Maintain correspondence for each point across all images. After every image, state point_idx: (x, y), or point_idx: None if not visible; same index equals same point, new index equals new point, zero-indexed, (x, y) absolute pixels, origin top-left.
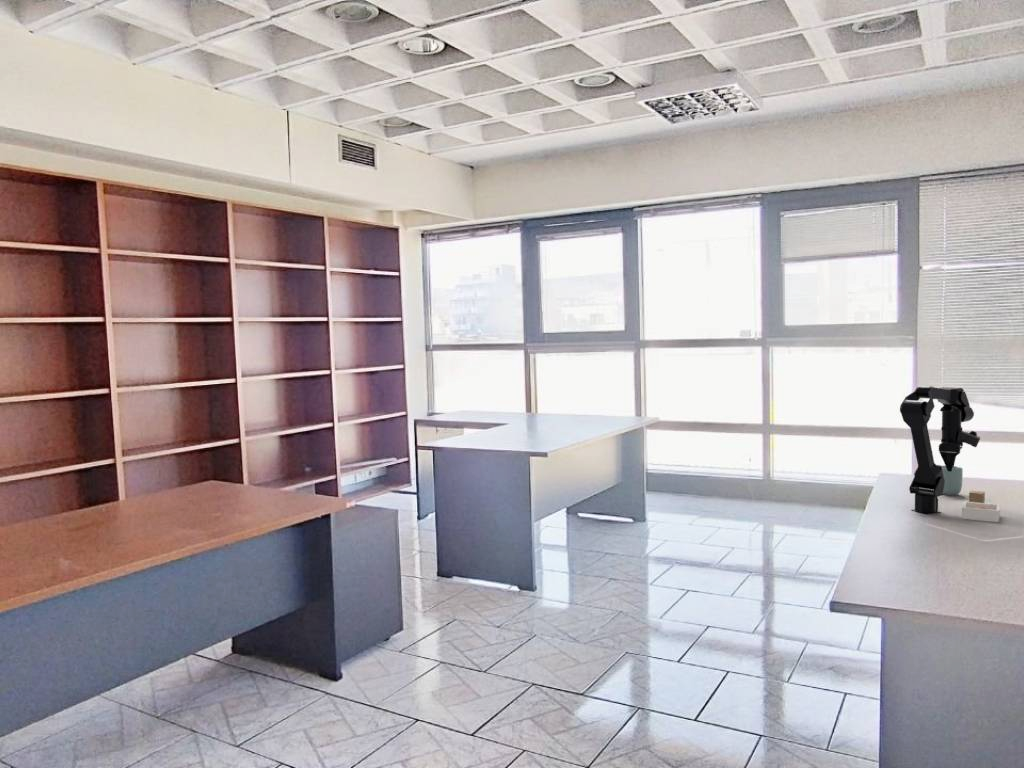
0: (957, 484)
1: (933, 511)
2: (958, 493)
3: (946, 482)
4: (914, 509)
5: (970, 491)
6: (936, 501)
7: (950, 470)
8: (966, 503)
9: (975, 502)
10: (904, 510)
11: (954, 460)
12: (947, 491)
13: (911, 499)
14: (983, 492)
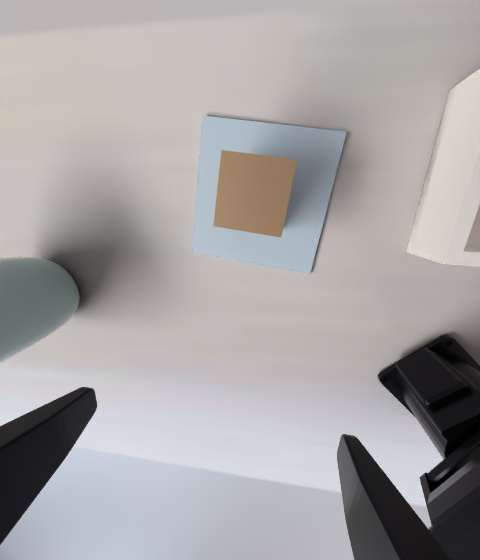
0: (33, 278)
1: (473, 367)
2: (56, 263)
3: (45, 322)
4: (414, 415)
5: (242, 230)
6: (470, 382)
7: (358, 452)
8: (472, 251)
9: (464, 204)
10: (402, 433)
11: (19, 442)
12: (75, 301)
13: (203, 397)
14: (245, 157)
